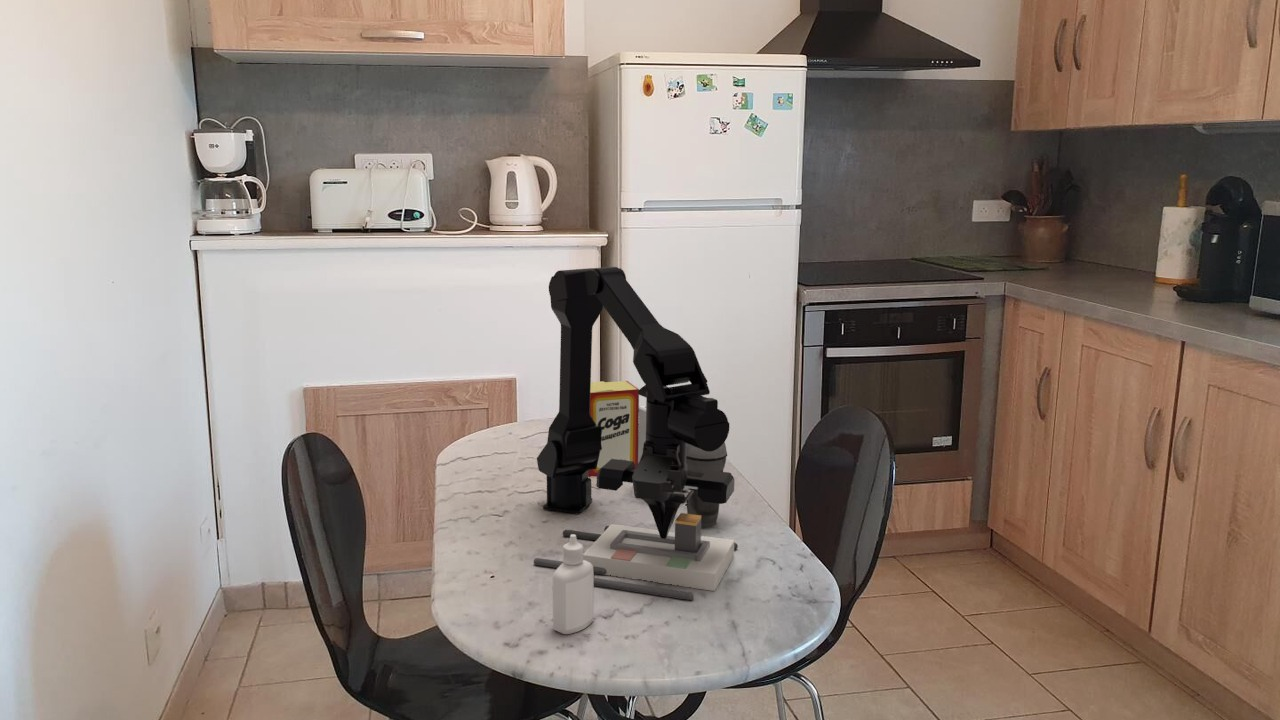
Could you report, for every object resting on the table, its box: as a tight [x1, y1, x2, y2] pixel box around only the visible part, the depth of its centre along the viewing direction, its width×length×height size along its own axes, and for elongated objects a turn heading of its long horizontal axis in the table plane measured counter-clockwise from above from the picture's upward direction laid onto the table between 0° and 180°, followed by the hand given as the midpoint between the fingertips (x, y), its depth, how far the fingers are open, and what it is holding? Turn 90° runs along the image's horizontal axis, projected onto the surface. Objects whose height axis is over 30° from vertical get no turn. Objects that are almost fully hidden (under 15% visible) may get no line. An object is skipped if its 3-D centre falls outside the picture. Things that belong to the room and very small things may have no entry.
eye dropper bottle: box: [552, 534, 595, 635], centre depth 121 cm, size 4×6×12 cm
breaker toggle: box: [674, 512, 702, 553], centre depth 138 cm, size 3×3×5 cm
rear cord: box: [562, 525, 739, 550], centre depth 147 cm, size 26×4×1 cm, turn 72°
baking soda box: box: [588, 380, 640, 478], centre depth 179 cm, size 10×6×16 cm
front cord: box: [533, 557, 695, 601], centre depth 134 cm, size 24×4×1 cm, turn 72°
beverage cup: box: [686, 441, 728, 529], centre depth 153 cm, size 7×7×20 cm
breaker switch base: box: [583, 523, 735, 592], centre depth 140 cm, size 19×12×3 cm, turn 72°
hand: (664, 537), depth 139 cm, fingers closed
